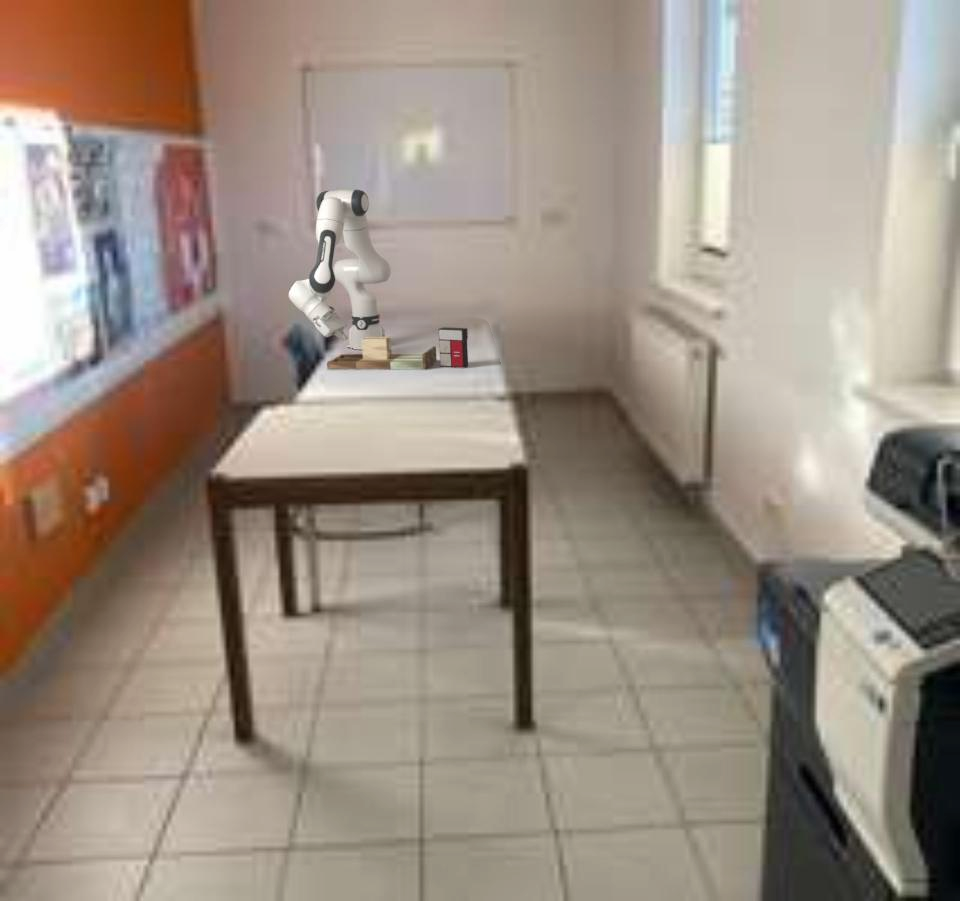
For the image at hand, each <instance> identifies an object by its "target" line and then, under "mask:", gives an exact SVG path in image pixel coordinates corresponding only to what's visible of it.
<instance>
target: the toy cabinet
mask: <svg viewBox="0 0 960 901" xmlns="http://www.w3.org/2000/svg"><path fill="white" fill-rule="evenodd" d="M468 335H469V333H468V328H466V327H464V328H463V327H448V326H447V327H446V326H445V327H444V326H443V327H440V328H438V344H439V345H438V346H439V364H440V367H441V366H442V367H441V368H444V367H445V368H456V367H465V368H468V367H469V358H468V357H469V352H468V351H469V350H468V337H469V336H468ZM467 366H468V367H467Z"/></svg>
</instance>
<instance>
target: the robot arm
mask: <svg viewBox="0 0 960 901" xmlns="http://www.w3.org/2000/svg"><path fill="white" fill-rule="evenodd" d="M315 203H316V210H317V217H316V223H315V238H316V241H317V243H318V248H317V256H316V261H315V265H314V267H313V268H312V269H311V271H310V273H309V277H308V278H306V279H303V280H302V279H301V280H296V281H294V283H292V285H291V286H290V287H289V290H288V294H287V295H288V298H289V300H290V301H291V302H292V304H293V305H294V306H295V307H296V308H297V309H298V310H299V311H301V312H303V314H304V315H305V316H306V318H308V320H309V321H310V322H311V323H313V325H314V326H315V328H316V329H317V330H318V331H319V332H320V333H321V335H323V337H326V338H329V337H331V336H335V337H336V338H338V339H339V340H341V341H342V342H345V341H347V340H348V339H349V344H346V348H347V347H350V348H349V349H352V348H353V349H352V350H362V339H363V338H365V337H386V333H385V329H384V328H383V326H382V325H381V323H380V318H381V316H380V315H381V314H380V313H378V303H377V301H378V300H377V297H376V296H375V294H374V293H371V292H370V291H368V290H367V289H366V288H365V286H364V285H366V284H367V285H369V284H372V285H374V284H381V283H385V282H387V281H388V280H389V278H390V276H391V274H392V273H391V266H390V264H389V262H388V261H387V260H386V259H385V258H383V257H382V256H381V255H380V254H379V253H378V252H377V251H376V249H375V248H374V246H373V243H372V240H371V235H370V232H369V229H370V228H369V224H368V218H367V215H366V213H367V212H368V211H369V204H370V203H369V197H368V195H367V194H366V192H365V191H363V190H362V189H361V190H360V189H336V190H335V189H334V190H325V191H322V192H320V193H319V194H318V196H317V197H316V202H315ZM342 237H343V243H344V246H345V248H346V249H347V250H348V251H351V252H352V253H353V254H355V255H356V256H357V258H356V257H355V258H344V259H340V260H337V261H336V262H335V263H334V265H333V261H334V256H335V254H334V253H335V249H336V247H337V245H338V244H340V243H341V240H342ZM336 281H337V283H339V284H340V285H341V286H342V287H344V289H345V290H346V292H347V293H348V296H349V299H350V305H351V312H352V313H351V319H350V320H351V327H350V328H349V329H348V330H349V337H348V335H347V334H346V332H345V331H344V330H345V329H346V328H347V326H348V323H347V322H346V320H345V319H344V318H343V317H342V316H341V315H340V314H339V313H338V312H337V311H336V309H335V308H334V307H333V306H330V305H328V304H326V303H325V302H324V301H325V300H326V299H328V298H329V297H331V296H332V294H334V289H335V283H336Z"/></svg>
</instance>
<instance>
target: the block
mask: <svg viewBox="0 0 960 901" xmlns="http://www.w3.org/2000/svg"><path fill="white" fill-rule="evenodd" d="M361 352H362V353H361V354H363V359H389V358H390V357H391V354H392V344H391V336H385V337H365V338H363V339H362V349H361Z"/></svg>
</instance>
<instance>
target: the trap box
mask: <svg viewBox="0 0 960 901" xmlns="http://www.w3.org/2000/svg"><path fill="white" fill-rule="evenodd" d="M437 361H438V360H437V346H432V347H430V348H429V349H427V351H425V352H423V353H391V357H390V358H389V359H363V353H361V354H359V353H357V354H356V353H353V354H352V353H351V354H350V353H349V354H348V353H341V354H339V355H337V356H336V357H333V358H332V359H330V360H328V361H327V362H326V368H327V369H426V370H427V369H428V368H430V367H431V366H432V365H433V363H434V362H435V363H436V362H437ZM435 363H434V364H435ZM429 366H430V367H429Z"/></svg>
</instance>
